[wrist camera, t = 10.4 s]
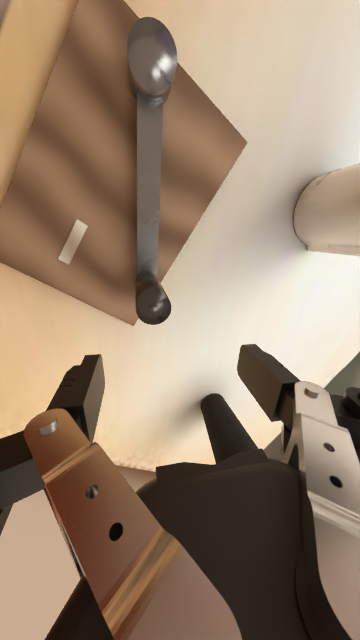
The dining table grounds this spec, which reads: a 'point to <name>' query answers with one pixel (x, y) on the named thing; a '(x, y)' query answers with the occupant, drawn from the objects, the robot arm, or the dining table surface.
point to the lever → (150, 154)
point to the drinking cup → (224, 429)
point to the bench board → (107, 168)
